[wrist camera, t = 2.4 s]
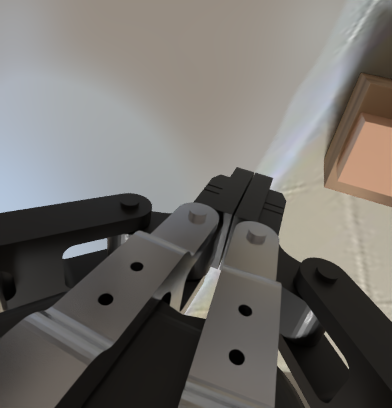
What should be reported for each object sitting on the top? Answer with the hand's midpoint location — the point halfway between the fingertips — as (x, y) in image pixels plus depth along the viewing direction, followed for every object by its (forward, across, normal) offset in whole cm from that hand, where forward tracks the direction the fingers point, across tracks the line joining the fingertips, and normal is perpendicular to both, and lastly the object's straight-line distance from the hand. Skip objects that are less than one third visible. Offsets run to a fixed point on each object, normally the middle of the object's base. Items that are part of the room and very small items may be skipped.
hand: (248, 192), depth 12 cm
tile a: (+12, -7, 0) cm, 13 cm away
